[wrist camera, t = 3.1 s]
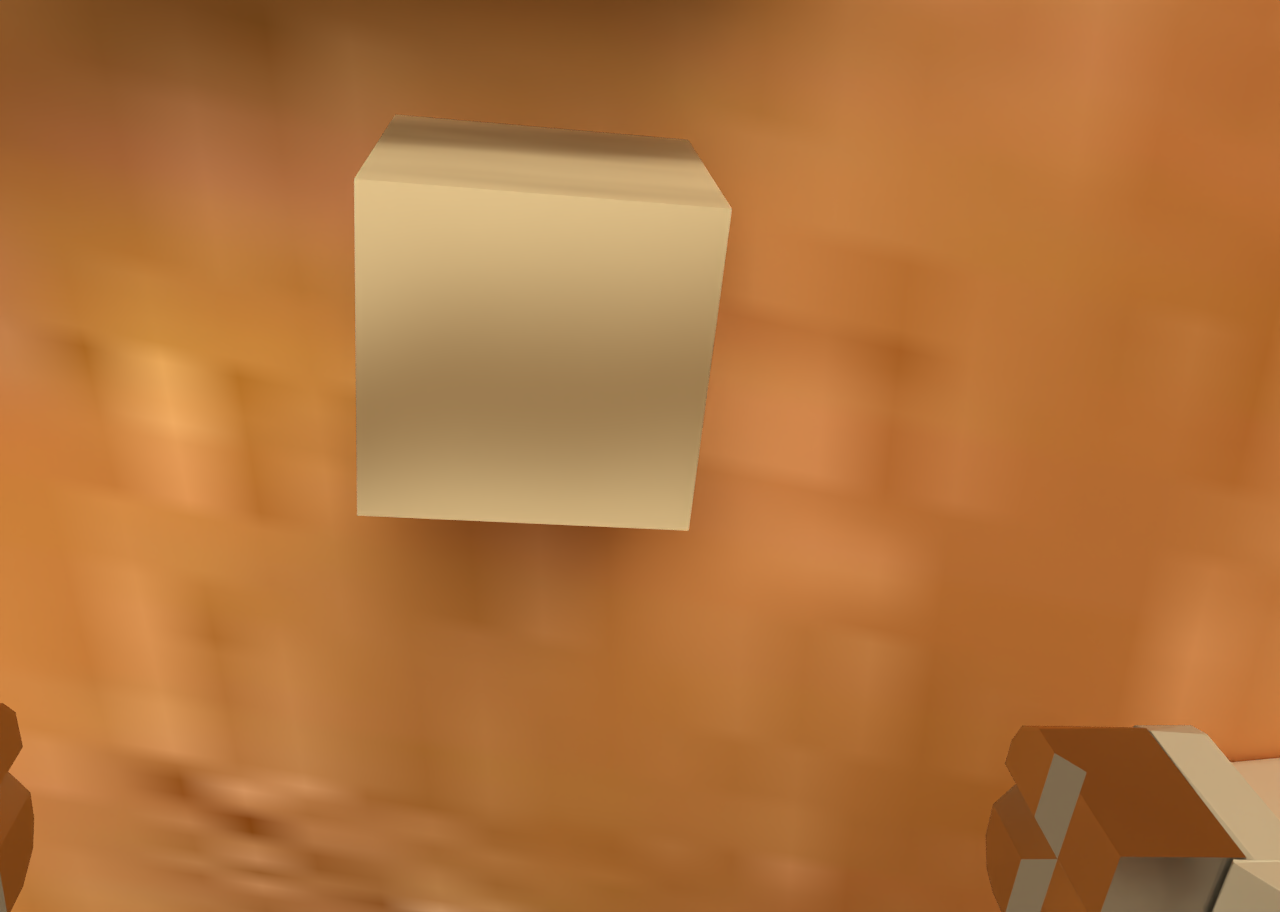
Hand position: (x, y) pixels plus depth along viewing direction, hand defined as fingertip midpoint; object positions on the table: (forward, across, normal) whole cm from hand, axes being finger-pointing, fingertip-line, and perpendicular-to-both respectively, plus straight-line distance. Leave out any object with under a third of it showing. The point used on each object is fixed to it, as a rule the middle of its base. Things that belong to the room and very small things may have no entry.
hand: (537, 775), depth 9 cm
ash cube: (+13, 0, -1) cm, 13 cm away
